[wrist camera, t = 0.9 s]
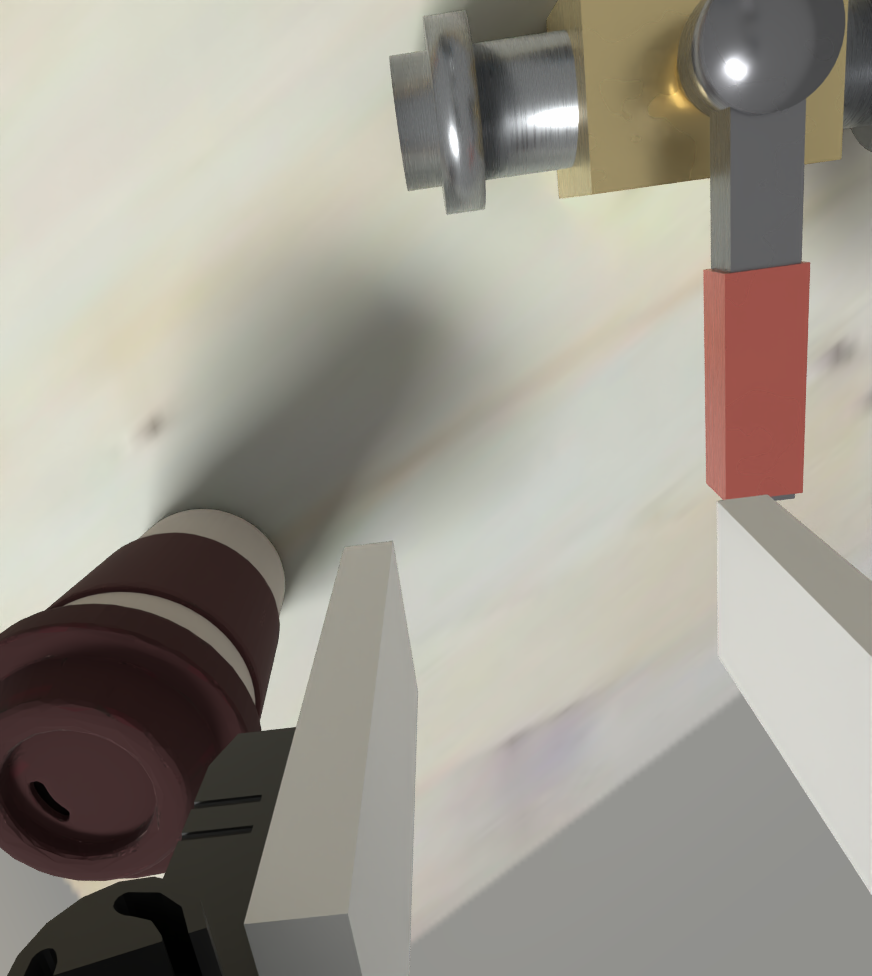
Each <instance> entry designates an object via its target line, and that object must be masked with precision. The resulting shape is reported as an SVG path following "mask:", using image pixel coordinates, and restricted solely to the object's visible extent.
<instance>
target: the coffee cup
mask: <svg viewBox="0 0 872 976" xmlns="http://www.w3.org/2000/svg"><path fill="white" fill-rule="evenodd" d="M284 593H285V575H284V570H283V566H282V563H281V560H280V557H279V555H278V553H277V552H276V550H275V548H274V546H273V545H272V543H271V542H270V541H269V540H268V539H267V537H266V536H265V535H264V534H263V533H262V532H261V531H260V530H259V529H257V528H256V527H255V526H254V525H252V524H250V523H249V522H247V521H246V520H244V519H242V518H240V517H238V516H235V515H233V514H231V513H227V512H223V511H219V510H212V509H192V510H186V511H182V512H179V513H175V514H173V515H170V516H168V517H166V518H164V519H162V520H161V521H159V522H158V523H156V524H155V525H154V526H153V527H151V528H150V529H149V530H148V531H147V532H146V533H144V534H143V535H142V536H141V537H140V538H139V539H137V540H135V541H133V542H131V543H129V544H127V545H125V546H123V547H121V548H120V549H118V550H117V551H116V552H114V553H113V554H112V555H111V556H109V557H108V558H107V559H106V560H105V561H103V562H102V563H101V564H100V565H99V566H97V567H96V568H95V569H94V570H93V571H91V572H90V573H89V574H88V575H87V576H86V577H84V578H83V579H82V580H81V581H80V582H78V583H77V584H76V585H75V586H74V587H72V588H71V589H70V590H69V591H68V592H66V593H65V594H64V595H63V596H62V597H60V598H59V599H58V600H57V601H56V602H54V603H53V604H52V605H51V606H50V607H49V608H47V609H46V610H45V611H42V612H39V613H37V614H34V615H32V616H30V617H27V618H25V619H23V620H20V621H19V622H17V623H15V624H14V625H12V626H10V627H9V628H8V629H6V630H5V631H3V632H2V633H1V634H0V848H2V849H3V850H4V851H6V853H8V854H9V855H10V856H12V857H13V858H14V859H16V860H18V861H20V862H22V863H24V864H26V865H28V866H30V867H32V868H34V869H36V870H38V871H41V872H44V873H47V874H50V875H53V876H58V877H63V878H68V879H73V880H81V881H107V880H113V879H121V878H139V877H145V876H150V875H156V874H162V873H165V872H166V870H167V867H168V865H169V862H170V860H171V858H172V855H173V853H174V850H175V848H176V845H177V843H178V841H181V840H182V830H183V828H184V826H185V823H186V821H187V818H188V816H189V813H190V811H191V809H194V801H195V798H196V796H197V794H198V791H199V789H200V786H201V784H202V781H203V779H204V776H205V774H206V771H207V769H208V766H209V765H210V764H211V763H212V762H213V761H214V760H215V759H216V757H217V756H218V755H219V754H220V753H221V752H222V751H223V750H224V749H225V748H226V747H227V745H228V744H229V743H230V742H231V741H232V740H233V739H234V738H235V737H236V736H237V735H238V734H240V733H249V732H258V731H261V726H260V718H261V714H262V709H263V705H264V701H265V696H266V692H267V688H268V683H269V679H270V675H271V670H272V666H273V662H274V657H275V653H276V649H277V644H278V639H279V629H280V622H279V615H280V611H281V607H282V603H283V599H284Z"/></svg>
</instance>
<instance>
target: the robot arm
mask: <svg viewBox="0 0 872 976" xmlns="http://www.w3.org/2000/svg"><path fill="white" fill-rule="evenodd" d="M717 598H718V657H719V659H720V661H721V662H722V664H723V665H724V667H725V668H726V670H727V671H728V673H729V675H730V676H731V678H732V679H733V681H734V682H735V684H736V685H737V687H738V688H739V690H740V692H741V693H742V695H743V696H744V698H745V699H746V701H747V702H748V704H749V706H750V707H751V708H752V710H753V712H754V713H755V715H756V716H757V718H758V719H759V721H760V723H761V724H762V726H763V727H764V729H765V730H766V732H767V733H768V735H769V736H770V738H771V739H772V741H773V743H774V744H775V746H776V747H777V749H778V750H779V752H780V753H781V755H782V756H783V758H784V759H785V761H786V763H787V764H788V765H789V767H790V769H791V770H792V772H793V774H794V775H795V777H796V778H797V780H798V781H799V783H800V784H801V786H802V788H803V789H804V791H805V792H806V794H807V795H808V796H809V798H810V800H811V802H812V803H813V805H814V806H815V808H816V809H817V811H818V812H819V814H820V815H821V817H822V818H823V820H824V822H825V823H826V825H827V826H828V828H829V829H830V831H831V832H832V834H833V836H834V837H835V839H836V840H837V842H838V843H839V845H840V846H841V848H842V850H843V851H844V852H845V854H846V856H847V857H848V859H849V860H850V862H851V863H852V865H853V867H854V868H855V870H856V871H857V873H858V874H859V876H860V877H861V879H862V880H863V882H864V884H865V885H866V886H867V888H868V890H869V891H870V893H871V894H872V581H871V580H869V579H868V578H867V577H866V576H865V575H863V574H862V573H861V572H860V571H859V570H858V569H856V568H855V567H854V566H853V565H852V564H850V563H849V562H848V561H847V560H846V559H844V558H843V557H842V556H841V555H840V554H838V553H837V552H836V551H835V550H834V549H832V548H831V547H830V546H829V545H828V544H826V543H825V542H824V541H823V540H822V539H820V538H819V537H818V536H817V535H816V534H814V533H813V532H812V531H811V530H810V529H808V528H807V527H806V526H805V525H804V524H802V523H801V522H800V521H799V520H798V519H796V518H795V517H794V516H793V515H792V514H790V513H789V512H788V511H787V510H786V509H784V508H783V507H782V506H781V505H780V504H778V503H777V502H776V501H775V500H774V499H772V498H771V497H770V496H769V495H759V496H751V497H743V498H735V499H727V500H719V501H717ZM417 708H418V688H417V682H416V676H415V670H414V664H413V658H412V652H411V646H410V640H409V634H408V628H407V622H406V616H405V610H404V604H403V598H402V592H401V586H400V580H399V574H398V568H397V562H396V556H395V550H394V544H393V541H389V542H381V543H373V544H365V545H356V546H348V547H344V549H343V553H342V557H341V561H340V564H339V568H338V572H337V576H336V579H335V583H334V587H333V591H332V594H331V598H330V602H329V606H328V609H327V613H326V617H325V621H324V624H323V628H322V632H321V636H320V639H319V643H318V647H317V651H316V654H315V658H314V662H313V666H312V669H311V673H310V677H309V681H308V685H307V688H306V692H305V696H304V700H303V703H302V707H301V711H300V715H299V718H298V722H297V726H296V727H293V728H284V729H275V730H267V731H258V732H249V733H240V734H238V735H237V736H236V737H235V738H234V739H233V740H232V741H231V742H230V743H229V744H228V745H227V747H226V748H225V749H224V750H223V751H222V752H221V753H220V754H219V755H218V756H217V757H216V759H215V760H214V761H213V762H212V763H211V764H210V765H209V766H208V769H207V771H206V774H205V776H204V779H203V781H202V784H201V786H200V789H199V791H198V794H197V796H196V798H195V801H194V809H191V811H190V813H189V816H188V818H187V821H186V823H185V826H184V828H183V830H182V840H181V841H178V843H177V845H176V848H175V850H174V853H173V855H172V858H171V860H170V862H169V865H168V867H167V870H166V872H165V875H164V877H163V879H162V878H157V877H148V878H141V879H135V880H128V881H121V882H117V883H115V884H113V885H111V886H108V887H106V888H104V889H101V890H99V891H97V892H94V893H92V894H90V895H87V896H85V897H83V898H81V899H80V900H78V901H77V902H76V903H74V904H73V905H71V906H70V907H69V908H67V909H66V910H64V911H63V912H62V913H60V914H59V915H57V916H56V917H55V918H53V919H52V920H50V921H49V922H48V923H46V925H45V926H44V927H43V928H42V929H41V930H40V931H39V932H38V933H37V935H36V936H35V937H34V938H33V939H32V940H31V941H30V942H29V944H28V945H27V946H26V947H25V948H24V949H23V950H22V951H21V953H19V955H18V956H17V958H16V960H15V962H14V964H13V965H12V968H11V970H10V971H9V973H8V975H7V976H409V970H410V938H411V905H412V872H413V839H414V807H415V774H416V741H417Z"/></svg>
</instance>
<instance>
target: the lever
mask: <svg viewBox="0 0 872 976" xmlns="http://www.w3.org/2000/svg"><path fill="white" fill-rule="evenodd" d="M844 33H845V8H844V2H843V0H701V1H700V2H699V4H698V5H697V6H696V7H695V8H694V10H693V11H692V13H691V14H690V16H689V18H688V20H687V21H686V23H685V26H684V28H683V31H682V33H681V37H680V41H679V45H678V52H677V66H678V74H679V79H680V82H681V85H682V88H683V90H684V92H685V94H686V96H687V97H688V99H689V100H690V102H691V103H692V104H693V105H694V106H695V107H696V108H697V109H698V110H699V111H700V112H702V113H703V114H705V115H706V116H708V117H710V198H711V269H706V270H704V347H705V424H706V483H707V484H708V485H709V486H710V487H711V488H712V489H713V490H714V491H715V492H716V493H717V494H718V495H719V496H720V497H721V498H722V499H723V500H727V499H735V498H743V497H751V496H759V495H769V496H770V497H771V498H772V499H774V500H775V501H776V500H785V499H793V498H795V494H796V493H803V465H804V435H805V405H806V374H807V344H808V313H809V283H810V262H802V261H801V260H802V226H803V191H804V157H805V122H806V98H807V97H809V96H810V95H811V94H812V93H813V92H814V91H816V89H817V88H818V87H819V86H820V85H821V84H822V83H823V82H824V80H825V79H826V78H827V76H828V75H829V73H830V72H831V70H832V68H833V67H834V65H835V63H836V60H837V58H838V56H839V53H840V50H841V47H842V44H843V39H844Z"/></svg>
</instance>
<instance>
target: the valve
mask: <svg viewBox="0 0 872 976" xmlns="http://www.w3.org/2000/svg"><path fill="white" fill-rule="evenodd" d="M700 1H701V0H558V1H557V3H556V5H555V6H554V8H553V10H552V11H551V13H550V15H549V16H548V18H547V20H546V25H547V32H545V33H539V34H532V35H525V36H519V37H512V38H505V39H499V40H492V41H485V42H479V43H472V39H471V33H470V27H469V22H468V18H467V14H466V11H465V10H461V11H455V12H448V13H442V14H435V15H428V16H423V25H424V36H425V46H426V51H419V52H412V53H406V54H399V55H392V56H389V58H390V69H391V78H392V87H393V95H394V102H395V110H396V117H397V125H398V132H399V139H400V146H401V153H402V159H403V166H404V172H405V178H406V184H407V189H408V191H412V190H419V189H426V188H433V187H440V186H442V189H443V196H444V203H445V209H446V214H447V215H448V214H455V213H462V212H469V211H477V210H484V209H485V202H486V188H485V180H489V179H496V178H503V177H510V176H517V175H524V174H531V173H538V172H545V171H552V170H557V175H558V189H559V199H560V198H568V197H576V196H584V195H592V194H599V193H606V192H613V191H620V190H627V189H634V188H641V187H648V186H655V185H662V184H670V183H677V182H684V181H691V180H698V179H705V178H710V117H708V116H706V115H705V114H703V113H702V112H700V111H699V110H698V109H697V108H696V107H695V106H694V105H693V104H692V103H691V102H690V100H689V99H688V97H687V96H686V94H685V92H684V90H683V88H682V85H681V82H680V79H679V74H678V66H677V52H678V45H679V41H680V37H681V33H682V31H683V28H684V26H685V23H686V21H687V20H688V18H689V16H690V14H691V13H692V11H693V10H694V8H695V7H696V6H697V5H698V4H699V2H700ZM843 2H844V8H845V33H844V39H843V44H842V47H841V50H840V53H839V56H838V58H837V60H836V63H835V65H834V67H833V68H832V70H831V72H830V73H829V75H828V76H827V78H826V79H825V80H824V82H823V83H822V84H821V85H820V86H819V87H818V88H817V89H816V91H814V92H813V93H812V94H811V95H810V96H809V97H807V98H806V122H805V157H804V164H811V163H818V162H825V161H832V160H839V159H841V156H842V134H843V129H846V128H851V130H852V132H853V134H854V136H855V137H856V139H857V140H858V142H859V143H860V144H861V145H862V146H863V147H864V148H865V149H867V150H869V151H871V152H872V0H843Z"/></svg>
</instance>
